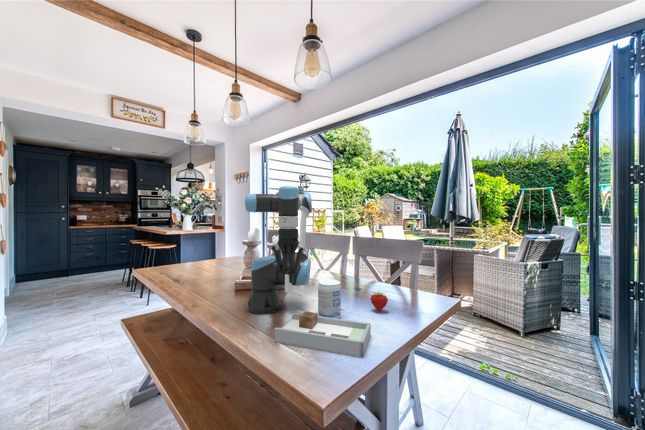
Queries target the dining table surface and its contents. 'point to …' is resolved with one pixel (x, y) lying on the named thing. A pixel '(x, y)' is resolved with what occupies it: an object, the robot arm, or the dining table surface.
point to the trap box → (327, 335)
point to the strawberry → (379, 301)
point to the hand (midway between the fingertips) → (288, 291)
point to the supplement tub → (329, 299)
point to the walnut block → (308, 320)
